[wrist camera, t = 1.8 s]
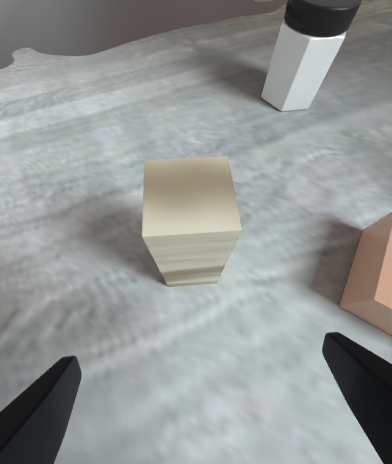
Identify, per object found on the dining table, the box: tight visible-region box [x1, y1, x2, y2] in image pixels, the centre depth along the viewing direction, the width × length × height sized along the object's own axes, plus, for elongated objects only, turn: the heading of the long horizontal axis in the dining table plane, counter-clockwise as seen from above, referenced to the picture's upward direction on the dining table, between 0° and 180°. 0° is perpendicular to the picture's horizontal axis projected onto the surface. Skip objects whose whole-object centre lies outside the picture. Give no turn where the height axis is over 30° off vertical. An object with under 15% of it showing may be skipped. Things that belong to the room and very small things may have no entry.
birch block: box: [142, 156, 242, 287], centre depth 17 cm, size 5×5×12 cm
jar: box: [261, 0, 362, 111], centre depth 30 cm, size 9×8×12 cm
